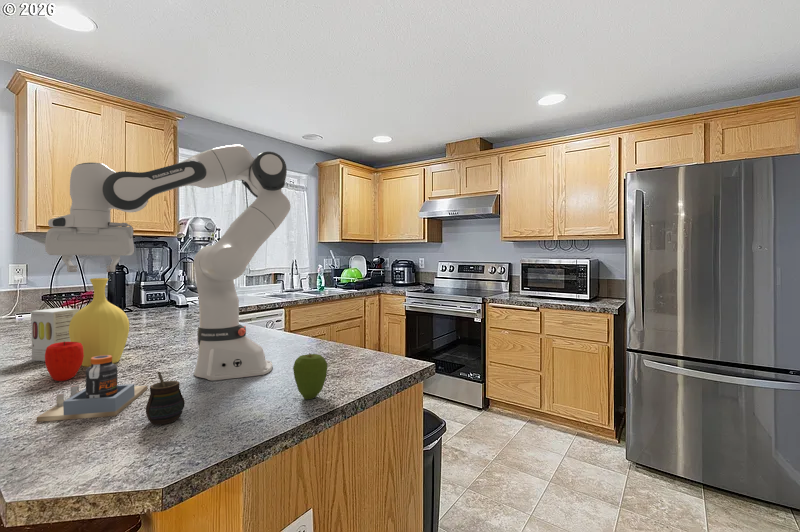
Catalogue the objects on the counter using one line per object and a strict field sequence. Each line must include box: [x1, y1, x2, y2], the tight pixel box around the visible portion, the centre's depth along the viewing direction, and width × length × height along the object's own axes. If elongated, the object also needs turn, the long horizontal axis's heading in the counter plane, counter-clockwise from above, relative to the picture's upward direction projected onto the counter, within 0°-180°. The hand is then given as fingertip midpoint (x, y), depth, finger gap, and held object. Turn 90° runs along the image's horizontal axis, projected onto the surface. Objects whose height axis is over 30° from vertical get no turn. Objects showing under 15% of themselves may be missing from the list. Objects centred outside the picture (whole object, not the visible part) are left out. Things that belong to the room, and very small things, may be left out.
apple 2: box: [292, 352, 329, 400], centre depth 101 cm, size 9×8×12 cm
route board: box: [36, 385, 148, 423], centre depth 96 cm, size 15×18×1 cm
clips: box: [55, 384, 81, 407], centre depth 96 cm, size 5×8×2 cm, turn 13°
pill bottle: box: [85, 355, 118, 399], centre depth 93 cm, size 6×6×11 cm
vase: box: [69, 277, 130, 368], centre depth 133 cm, size 16×16×28 cm
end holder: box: [63, 383, 135, 415], centre depth 93 cm, size 10×10×3 cm
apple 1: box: [44, 342, 84, 382], centre depth 115 cm, size 9×9×11 cm
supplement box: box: [30, 307, 80, 362], centre depth 139 cm, size 10×9×17 cm
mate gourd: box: [145, 371, 186, 426], centre depth 87 cm, size 7×8×10 cm
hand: (91, 272), depth 111 cm, fingers open, 8 cm apart
